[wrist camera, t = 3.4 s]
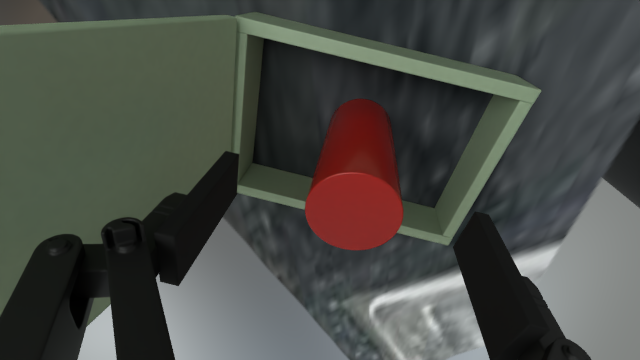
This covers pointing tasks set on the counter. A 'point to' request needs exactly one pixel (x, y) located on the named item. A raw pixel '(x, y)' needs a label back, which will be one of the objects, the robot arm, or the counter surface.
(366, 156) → the tin
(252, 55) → the green open box
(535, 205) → the counter surface
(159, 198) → the lid
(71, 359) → the robot arm
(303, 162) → the counter surface
